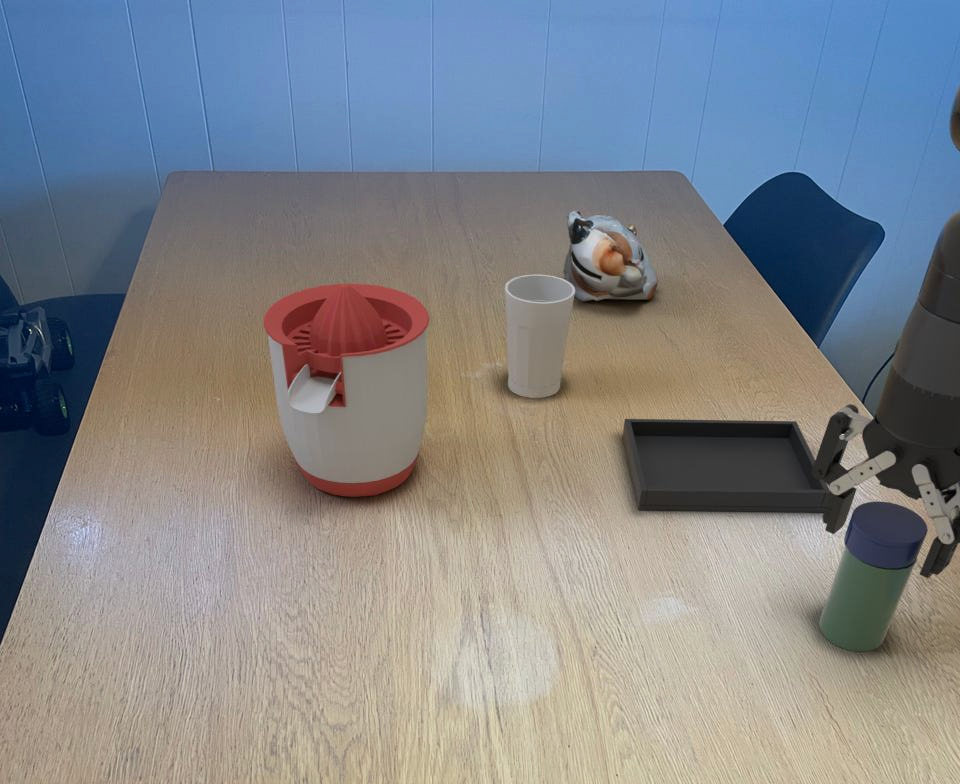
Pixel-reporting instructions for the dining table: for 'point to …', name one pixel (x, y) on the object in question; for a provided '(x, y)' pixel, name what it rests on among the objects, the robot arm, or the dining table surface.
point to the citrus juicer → (351, 384)
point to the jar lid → (885, 534)
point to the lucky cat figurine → (607, 260)
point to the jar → (862, 603)
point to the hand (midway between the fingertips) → (879, 550)
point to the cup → (537, 332)
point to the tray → (722, 466)
